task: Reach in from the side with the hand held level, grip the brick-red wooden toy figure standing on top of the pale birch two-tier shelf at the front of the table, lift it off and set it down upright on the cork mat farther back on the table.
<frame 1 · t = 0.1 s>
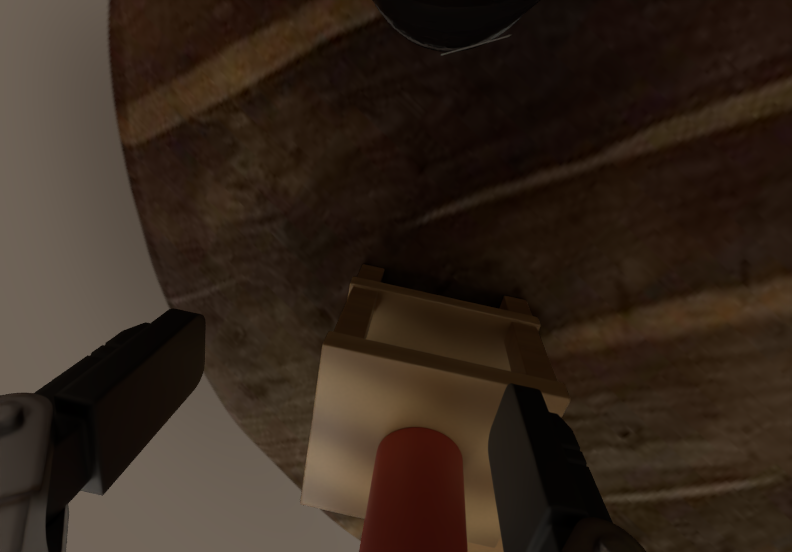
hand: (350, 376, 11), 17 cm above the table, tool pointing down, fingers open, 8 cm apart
toy figure: (419, 458, 22), point 10 cm above the table, touching shelf
shelf: (425, 348, 31), on the table
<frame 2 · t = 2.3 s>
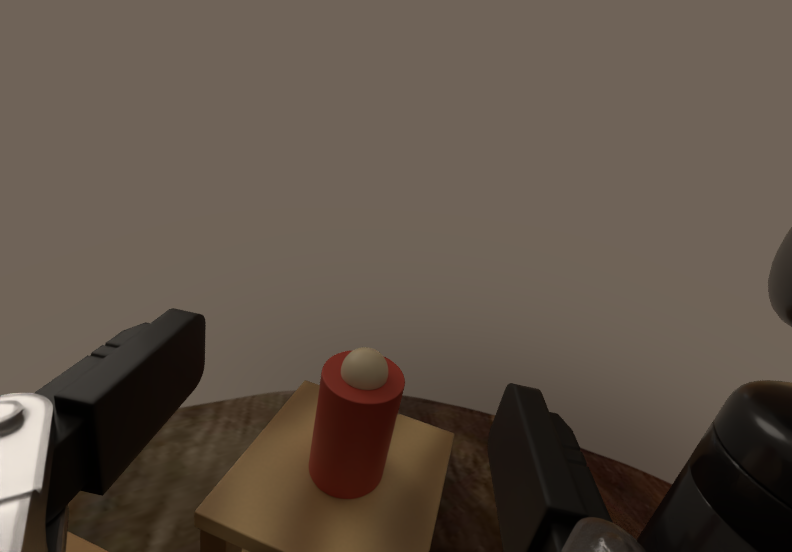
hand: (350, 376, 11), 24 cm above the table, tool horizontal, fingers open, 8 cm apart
toy figure: (346, 465, 25), point 10 cm above the table, touching shelf
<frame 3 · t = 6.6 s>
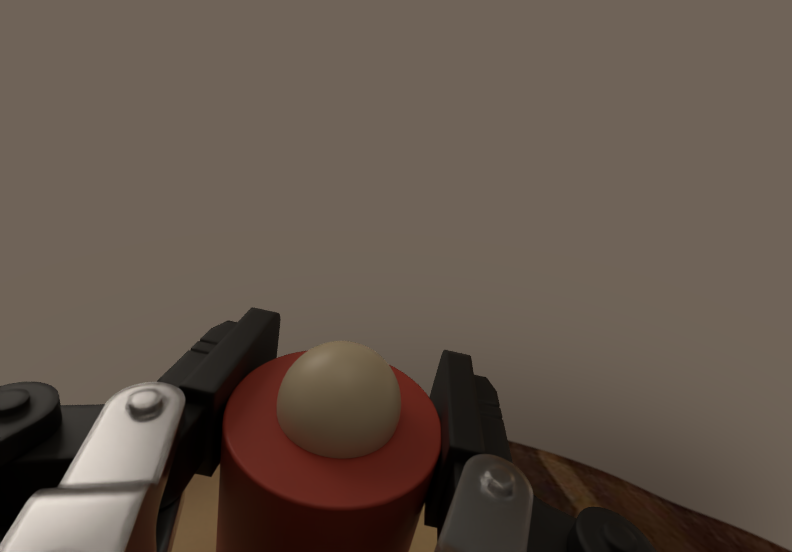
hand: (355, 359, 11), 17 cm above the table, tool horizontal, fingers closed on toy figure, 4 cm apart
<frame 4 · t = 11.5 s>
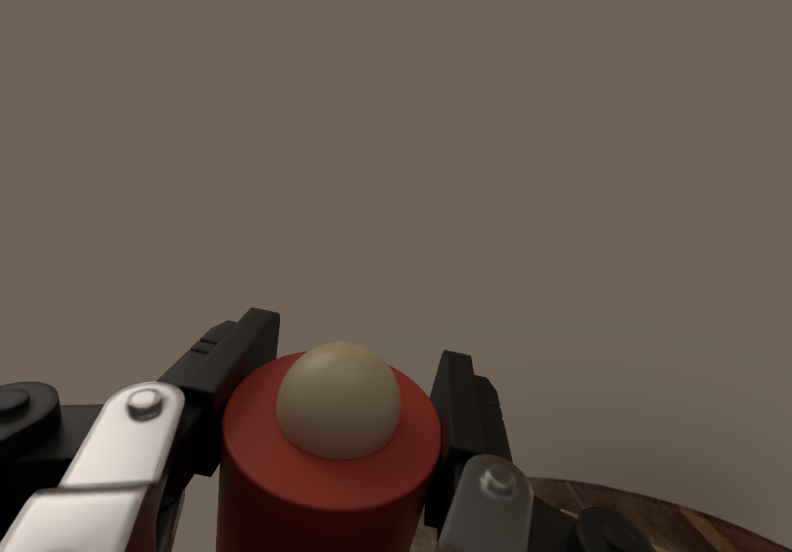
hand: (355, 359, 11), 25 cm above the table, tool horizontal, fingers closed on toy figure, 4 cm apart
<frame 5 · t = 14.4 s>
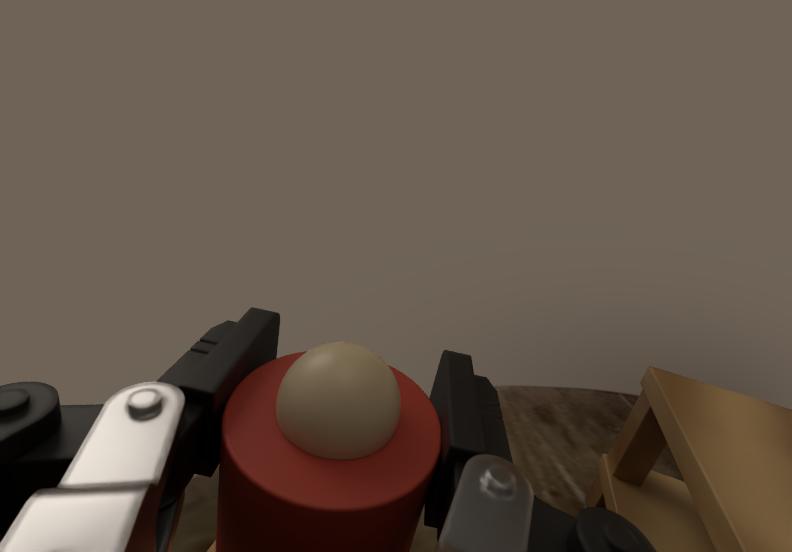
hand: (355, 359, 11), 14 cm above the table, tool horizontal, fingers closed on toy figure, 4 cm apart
when the fingers open (7 cm above the table, at t = 16.6 s): toy figure stays where it is, resting on cork mat.
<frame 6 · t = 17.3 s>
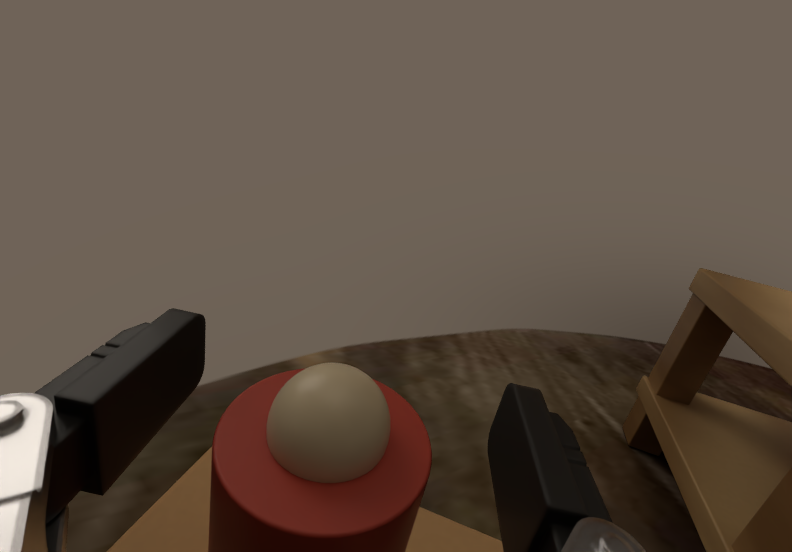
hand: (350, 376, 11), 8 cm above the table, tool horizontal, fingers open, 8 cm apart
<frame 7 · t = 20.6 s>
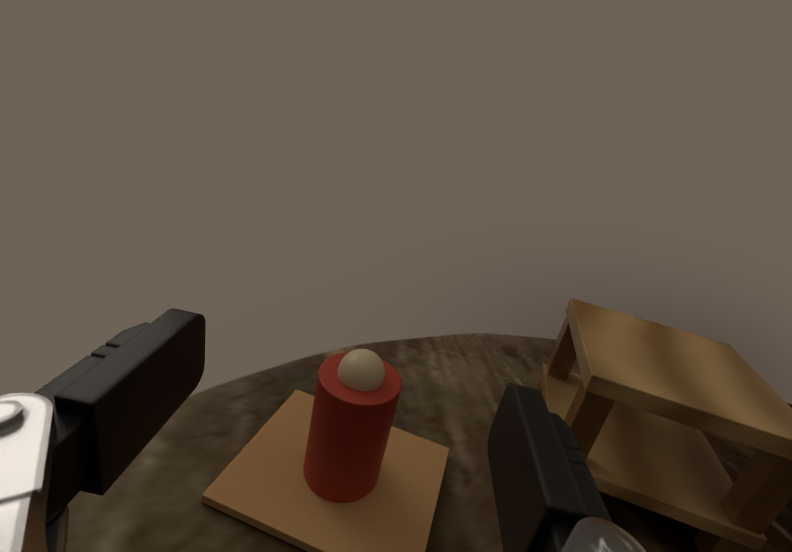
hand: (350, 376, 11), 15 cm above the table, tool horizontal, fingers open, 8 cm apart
toy figure: (341, 469, 25), point 1 cm above the table, touching cork mat
shelf: (611, 467, 31), on the table
cork mat: (340, 475, 25), on the table
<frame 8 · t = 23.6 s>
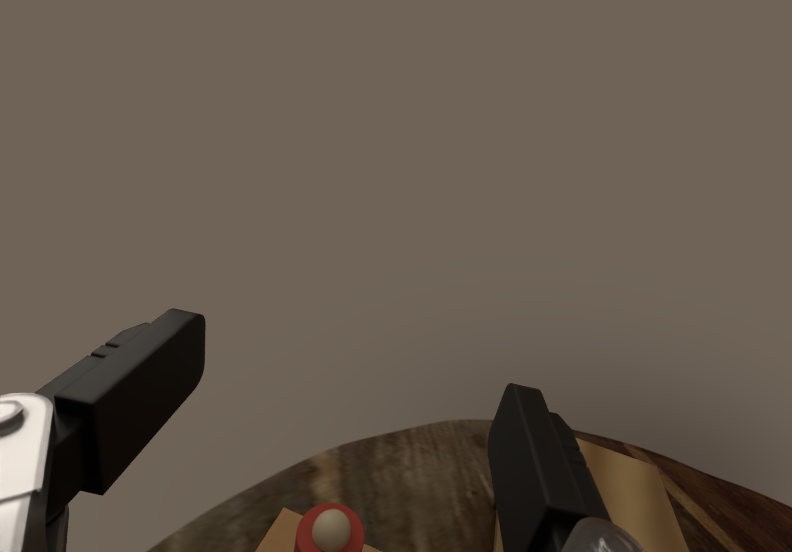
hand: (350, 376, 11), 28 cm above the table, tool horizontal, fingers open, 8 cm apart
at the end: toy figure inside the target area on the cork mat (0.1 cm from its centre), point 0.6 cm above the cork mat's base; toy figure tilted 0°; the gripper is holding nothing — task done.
